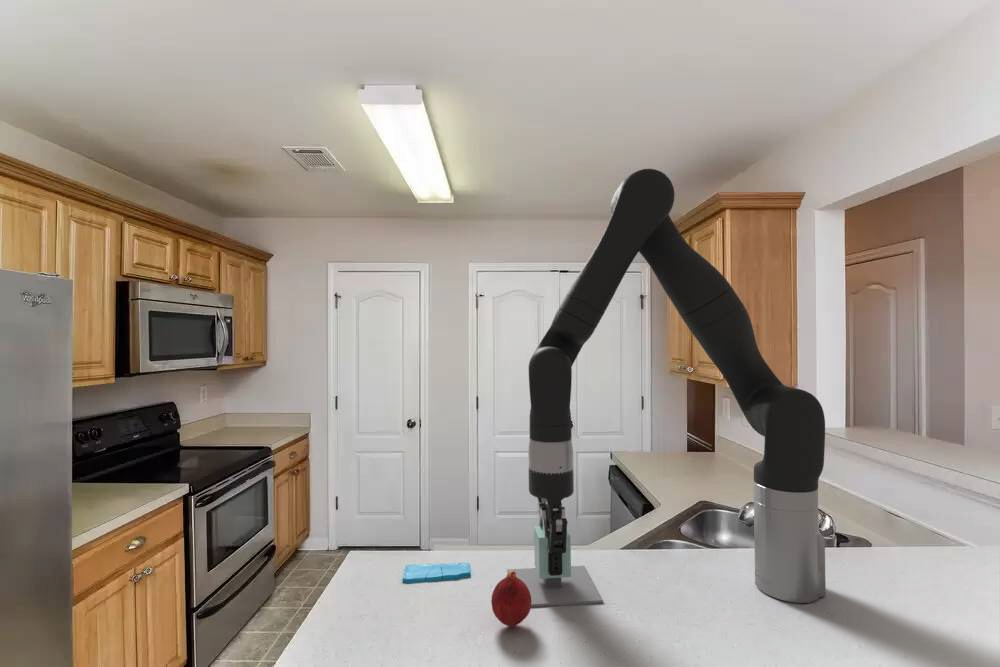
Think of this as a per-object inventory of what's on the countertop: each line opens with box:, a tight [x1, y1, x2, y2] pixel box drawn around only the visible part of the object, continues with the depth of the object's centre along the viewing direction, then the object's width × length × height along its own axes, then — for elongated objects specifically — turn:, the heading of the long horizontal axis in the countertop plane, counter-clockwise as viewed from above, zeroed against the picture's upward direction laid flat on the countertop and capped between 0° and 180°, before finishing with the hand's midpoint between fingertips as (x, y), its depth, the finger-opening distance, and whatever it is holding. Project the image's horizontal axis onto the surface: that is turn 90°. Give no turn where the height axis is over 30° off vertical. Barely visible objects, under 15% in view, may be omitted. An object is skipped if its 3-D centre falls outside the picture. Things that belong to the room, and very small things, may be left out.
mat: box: [506, 565, 604, 608], centre depth 85 cm, size 14×12×1 cm
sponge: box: [401, 562, 472, 584], centre depth 89 cm, size 2×12×6 cm
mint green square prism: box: [533, 525, 572, 579], centre depth 85 cm, size 5×5×7 cm
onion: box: [490, 570, 532, 628], centre depth 73 cm, size 6×6×8 cm
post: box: [543, 578, 561, 588], centre depth 85 cm, size 3×3×7 cm
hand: (552, 566), depth 85 cm, fingers closed on mint green square prism, 5 cm apart
